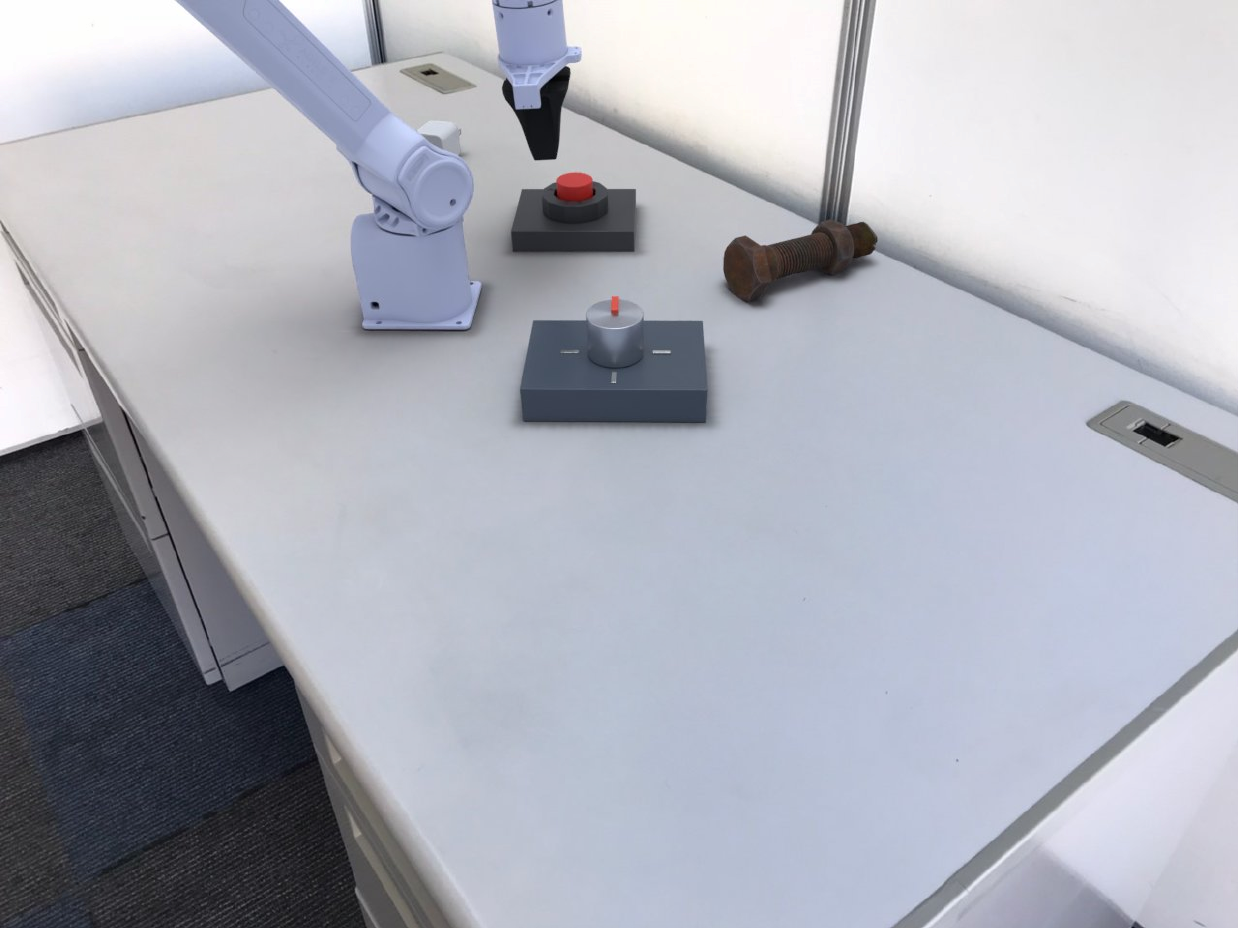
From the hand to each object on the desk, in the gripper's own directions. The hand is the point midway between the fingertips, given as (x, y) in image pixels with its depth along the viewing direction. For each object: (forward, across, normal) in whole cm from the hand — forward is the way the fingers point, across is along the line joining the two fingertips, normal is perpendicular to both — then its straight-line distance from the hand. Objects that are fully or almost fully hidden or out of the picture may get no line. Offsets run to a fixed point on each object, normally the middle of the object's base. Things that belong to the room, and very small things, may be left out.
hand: (545, 157), depth 90 cm
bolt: (+12, -4, -23) cm, 26 cm away
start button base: (+11, +6, -1) cm, 13 cm away
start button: (+7, +7, -2) cm, 10 cm away
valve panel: (+10, -21, -6) cm, 24 cm away
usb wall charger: (+11, +26, +16) cm, 32 cm away
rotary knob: (+7, -21, -7) cm, 23 cm away
